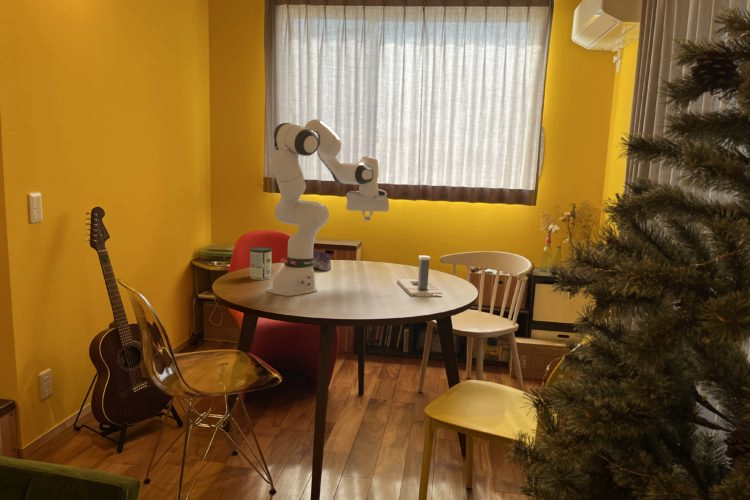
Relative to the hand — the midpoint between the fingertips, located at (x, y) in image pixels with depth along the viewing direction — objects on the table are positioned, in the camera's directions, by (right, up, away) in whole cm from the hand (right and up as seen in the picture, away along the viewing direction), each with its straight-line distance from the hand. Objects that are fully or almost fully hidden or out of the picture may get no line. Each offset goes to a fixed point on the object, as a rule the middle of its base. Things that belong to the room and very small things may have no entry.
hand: (367, 220), depth 268 cm
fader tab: (+25, -33, -16) cm, 45 cm away
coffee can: (-51, -28, -1) cm, 58 cm away
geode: (-25, -24, +30) cm, 46 cm away
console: (+24, -32, -10) cm, 41 cm away
